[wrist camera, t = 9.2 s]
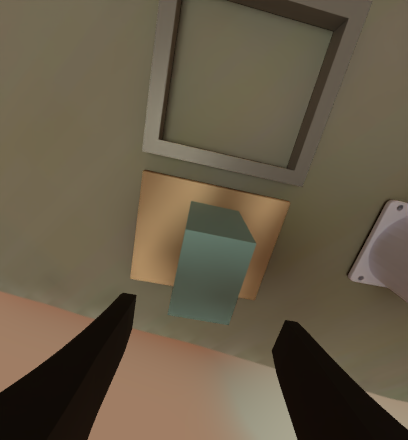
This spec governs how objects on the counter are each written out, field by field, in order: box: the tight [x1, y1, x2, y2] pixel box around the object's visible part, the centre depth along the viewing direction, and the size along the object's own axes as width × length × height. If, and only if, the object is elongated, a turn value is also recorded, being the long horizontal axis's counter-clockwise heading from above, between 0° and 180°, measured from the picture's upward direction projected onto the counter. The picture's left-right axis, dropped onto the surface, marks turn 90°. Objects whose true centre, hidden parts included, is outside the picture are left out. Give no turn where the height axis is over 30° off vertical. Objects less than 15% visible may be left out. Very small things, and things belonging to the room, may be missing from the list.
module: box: [168, 201, 256, 325], centre depth 15 cm, size 4×6×6 cm, turn 167°
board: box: [130, 170, 290, 300], centre depth 19 cm, size 12×10×1 cm
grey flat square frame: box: [142, 0, 372, 187], centre depth 14 cm, size 12×11×2 cm
